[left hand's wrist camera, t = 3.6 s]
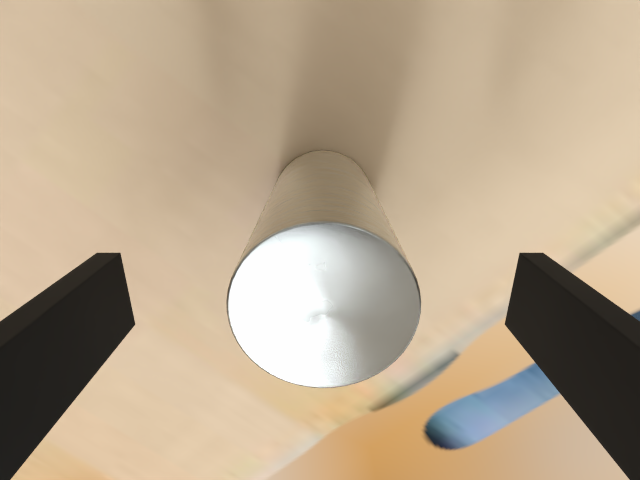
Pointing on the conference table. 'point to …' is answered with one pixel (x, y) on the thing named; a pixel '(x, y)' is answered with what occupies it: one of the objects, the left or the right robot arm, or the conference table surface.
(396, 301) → the canister
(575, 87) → the conference table surface
